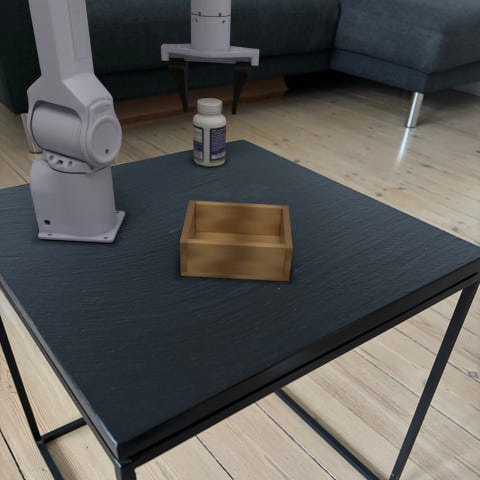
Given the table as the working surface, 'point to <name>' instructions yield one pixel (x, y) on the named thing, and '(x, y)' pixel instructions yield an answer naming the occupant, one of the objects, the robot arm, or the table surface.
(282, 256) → the bin
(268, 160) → the table surface
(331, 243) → the table surface
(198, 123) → the pill bottle
